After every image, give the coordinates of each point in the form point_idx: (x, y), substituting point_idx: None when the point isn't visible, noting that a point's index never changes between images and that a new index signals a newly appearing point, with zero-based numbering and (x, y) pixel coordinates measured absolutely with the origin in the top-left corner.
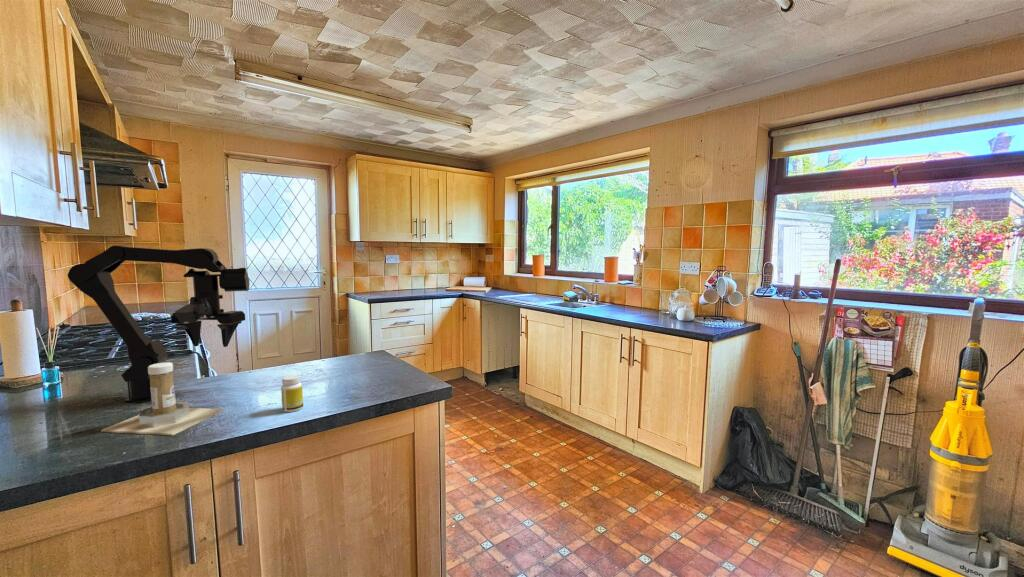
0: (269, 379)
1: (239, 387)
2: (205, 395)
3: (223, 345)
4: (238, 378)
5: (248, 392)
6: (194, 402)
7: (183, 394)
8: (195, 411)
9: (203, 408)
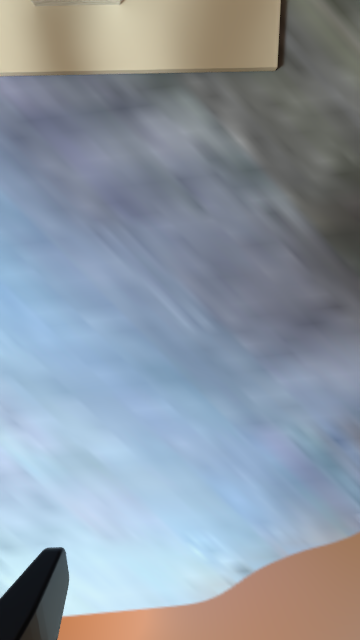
0: (75, 502)
1: (122, 396)
2: (194, 278)
3: (50, 562)
4: (231, 499)
5: (16, 341)
6: (163, 178)
7: (319, 277)
8: (7, 18)
9: (7, 72)
